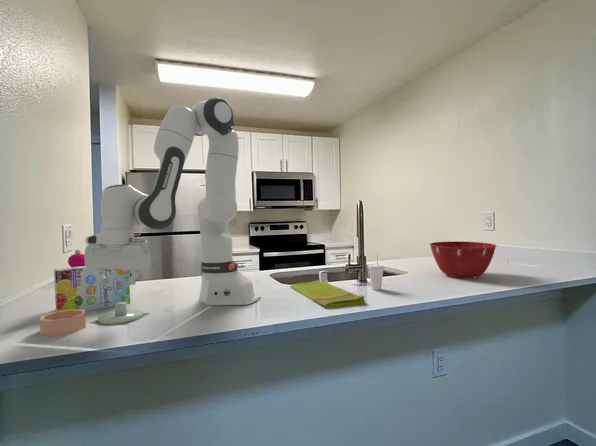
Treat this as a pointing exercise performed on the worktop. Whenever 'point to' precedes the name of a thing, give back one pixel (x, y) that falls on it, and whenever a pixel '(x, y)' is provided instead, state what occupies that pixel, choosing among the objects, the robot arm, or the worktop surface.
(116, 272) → the snack box
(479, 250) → the mixing bowl
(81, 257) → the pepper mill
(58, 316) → the bowl
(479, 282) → the worktop surface
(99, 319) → the lid
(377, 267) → the smoothie
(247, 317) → the worktop surface
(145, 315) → the mat
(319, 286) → the dish towel
